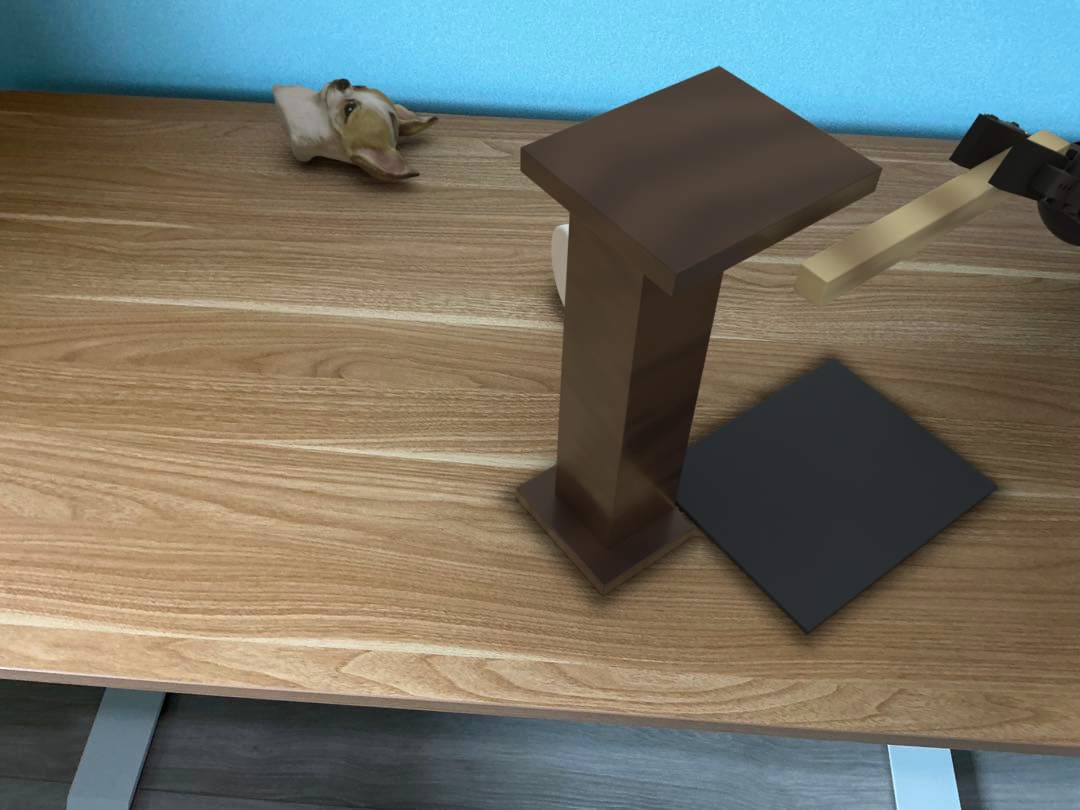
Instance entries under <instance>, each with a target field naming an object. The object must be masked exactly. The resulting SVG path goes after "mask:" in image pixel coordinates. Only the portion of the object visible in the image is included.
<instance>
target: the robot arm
mask: <svg viewBox="0 0 1080 810" xmlns="http://www.w3.org/2000/svg"><path fill="white" fill-rule="evenodd" d="M1030 136H1032V134H1031V133H1030V132H1028V131H1026V130H1024V129H1023V128H1021V127H1020V124H1019V123H1017V122H1015V121H1008V120H1006V121H1005V120H1003V119H1001V118H999V117H998V116H996V115H994V114H993V113H990V114H989V113H985V112H984V114H982V113H981V112H979V113H978V115H977V116H976V118H975V119H974V121H973V122H972V123H971V125H970V127H969V128H968V130H967V131H966V132H965V134H964V135H963V137H962V139H961V140H960V142H959V143H958V145H957V146H956V147H955V149H954V150H953V152H952V153H951V155H950V156H949V158H948V160H949V161H950V162H952V163H954V164H956V165H957V166H959V167H961V168H964V169H966V170H970V169H972V168H974V167H976V166H978V165H979V164H981V163H983V162H985V161H987V160H988V159H990V158H992V157H994V156H996V155H997V154H999V153H1001V152H1003V151H1005V150H1007V149H1008V148H1010V147H1012V148H1011V149H1010V151H1009V152H1008V154H1007V155H1006V156H1005V158H1004V159H1003V161H1002V162H1001V164H1000V165H999V166H998V168H997V169H996V171H995V172H994V174H993V175H992V177H991V178H990V179H989V181H988V182H987V183H989V184H991V185H992V186H994V187H996V188H997V189H999V190H1002V191H1005V192H1009V193H1012V194H1015V195H1016V196H1018V197H1022V198H1026V199H1029V200H1031V201H1036V205H1037V210H1038V214H1039V217H1040V219H1041V221H1042V223H1043V225H1044V226H1045V227H1046V228H1047V230H1048V231H1049V232H1050V233H1051V234H1052V235H1053V236H1054V237H1056V238H1057V239H1059V240H1060V241H1062V242H1064V243H1066V244H1068V245H1070V246H1074V247H1076V250H1077V252H1079V253H1080V139H1078V140H1075V141H1074V142H1072V143H1070V146H1069V148H1068V150H1067V152H1066V154H1065V156H1064V155H1063V154H1061V153H1059V152H1057V151H1054V150H1052V149H1050V148H1048V147H1045V146H1043V145H1041V144H1038V143H1036V142H1034V141H1031V140H1029V139H1027V138H1028V137H1030ZM1015 195H1014V196H1015Z"/></svg>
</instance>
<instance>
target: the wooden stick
mask: <svg viewBox="0 0 1080 810" xmlns="http://www.w3.org/2000/svg"><path fill="white" fill-rule="evenodd" d="M1027 139H1029V140H1031V141H1034V142H1036V143H1038V144H1041V145H1043V146H1045V147H1048V148H1050V149H1052V150H1054V151H1057V152H1059V153H1061V154H1063V155H1064V156H1065V154H1066V152H1067V150H1068V148H1069V146H1070V144H1071V143H1070V142H1069V141H1067V140H1065V139H1064V138H1061V137H1060V136H1058V135H1056V134H1054V133H1053V132H1050V131H1049V130H1047V129H1044V128H1043V129H1040V130H1039V131H1038V132H1037V131H1036V132H1035V133H1034V134H1031V136H1030V137H1028V138H1027ZM1011 148H1012V147H1010V148H1008V149H1007V150H1005V151H1003V152H1001V153H999V154H997V155H996V156H994V157H992V158H990V159H988V160H987V161H985V162H983V163H981V164H979V165H978V166H976V167H974V168H972V169H967V171H965V172H963V173H961V174H959V175H958V176H956V177H954V178H952V179H950V180H948V181H947V182H945V183H943V184H941V185H939V186H938V187H936V188H933V189H932V190H931V191H929V192H927V193H925V194H923V195H921V196H920V197H917V198H916V199H913V200H912V201H910V202H908V203H907V204H905V205H903V206H901V207H899V208H898V209H896V210H894V211H892V212H891V213H888V214H886V215H885V216H883V217H882V218H880V219H878V220H876V221H874V222H872V223H870V224H869V225H867V226H865V227H864V228H863V227H862V229H859V230H858V231H855V232H854V233H852V234H850V235H849V236H847V237H845V238H843V239H841V240H839V241H837V242H836V243H834V244H832V245H831V246H829V247H827V248H825V249H823V250H822V251H819V252H818V253H816V254H814V255H813V256H811V257H808V258H807V259H805V260H804V261H802V262H800V263H799V267H798V271H797V275H796V278H795V282H794V285H793V291H795V293H797V294H799V295H800V296H801V297H802V298H804V299H805V300H807V301H808V302H809V303H810V304H812V305H813V306H815V307H816V308H817V309H822V307H825V306H826V305H828V304H830V303H832V302H833V301H835V300H836V299H838V298H840V297H842V296H844V295H846V293H849V292H850V291H852V290H854V289H855V288H858V287H859V286H861V285H862V284H864V283H865V282H868V281H869V280H872V279H873V278H874V277H876V276H878V275H880V274H881V273H884V272H885V271H886V270H888V269H890V268H891V267H893V266H896V264H898V263H900V262H901V261H903V260H905V259H908V257H910V256H912V255H914V254H916V253H917V252H919V251H921V250H922V249H924V248H926V247H927V246H929V245H930V244H933V243H935V242H936V241H938V240H940V239H941V238H943V237H944V236H946V235H948V234H950V233H951V232H953V231H955V230H956V229H958V228H960V227H962V226H964V225H965V224H967V223H968V222H970V221H972V220H975V218H977V217H979V216H980V215H982V214H984V213H985V212H987V211H989V210H991V209H992V208H994V207H996V206H998V205H999V204H1002V203H1003V202H1004V201H1006V200H1008V199H1010V198H1011V197H1013V196H1015V194H1012V193H1009V192H1005V191H1002V190H999V189H997V188H996V187H994V186H992V185H991V184H989V183H987V182H988V181H989V179H990V178H991V177H992V175H993V174H994V172H995V171H996V169H997V168H998V166H999V165H1000V164H1001V162H1002V161H1003V159H1004V158H1005V156H1006V155H1007V154H1008V152H1009V151H1010V149H1011Z"/></svg>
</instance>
